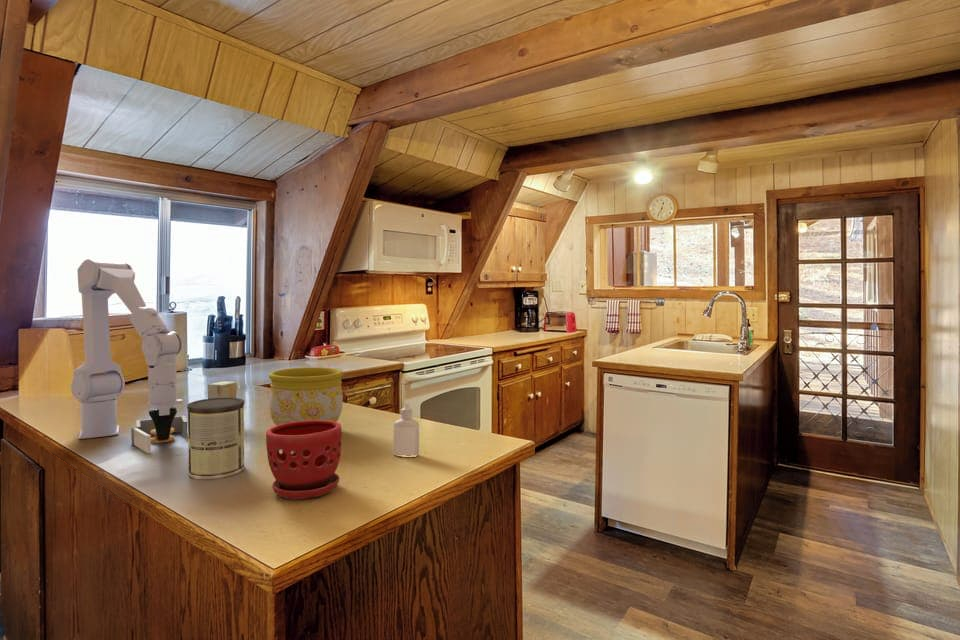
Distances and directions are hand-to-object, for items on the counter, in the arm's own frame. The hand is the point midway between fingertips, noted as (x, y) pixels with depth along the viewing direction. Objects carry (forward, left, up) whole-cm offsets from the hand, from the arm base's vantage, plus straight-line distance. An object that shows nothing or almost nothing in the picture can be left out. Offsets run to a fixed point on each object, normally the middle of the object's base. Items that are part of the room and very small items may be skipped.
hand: (163, 439), depth 123 cm
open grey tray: (-7, 0, -1) cm, 7 cm away
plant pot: (+48, +20, -1) cm, 52 cm away
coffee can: (+28, +8, -1) cm, 29 cm away
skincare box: (-9, +14, -1) cm, 17 cm away
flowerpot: (+10, +31, -1) cm, 33 cm away
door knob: (-4, 0, -1) cm, 4 cm away
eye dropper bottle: (+39, +45, -1) cm, 60 cm away
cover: (+2, -4, -1) cm, 5 cm away
